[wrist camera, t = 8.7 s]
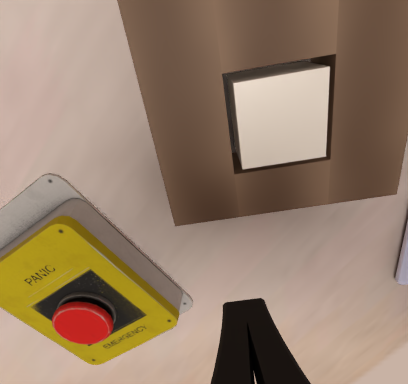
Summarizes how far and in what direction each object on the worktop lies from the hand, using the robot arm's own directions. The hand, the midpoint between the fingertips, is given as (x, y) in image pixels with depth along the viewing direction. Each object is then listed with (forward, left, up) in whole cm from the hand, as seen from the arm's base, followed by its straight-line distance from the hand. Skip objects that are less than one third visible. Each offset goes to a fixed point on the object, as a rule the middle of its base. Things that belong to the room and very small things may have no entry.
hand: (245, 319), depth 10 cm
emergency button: (+11, +5, -10) cm, 16 cm away
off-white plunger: (-3, -5, -9) cm, 11 cm away
